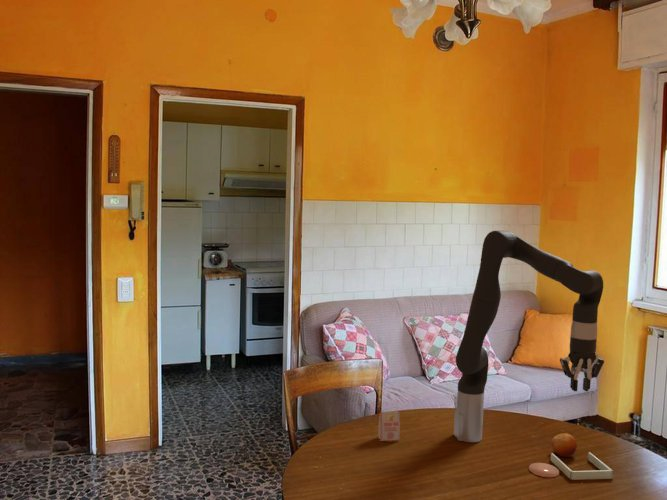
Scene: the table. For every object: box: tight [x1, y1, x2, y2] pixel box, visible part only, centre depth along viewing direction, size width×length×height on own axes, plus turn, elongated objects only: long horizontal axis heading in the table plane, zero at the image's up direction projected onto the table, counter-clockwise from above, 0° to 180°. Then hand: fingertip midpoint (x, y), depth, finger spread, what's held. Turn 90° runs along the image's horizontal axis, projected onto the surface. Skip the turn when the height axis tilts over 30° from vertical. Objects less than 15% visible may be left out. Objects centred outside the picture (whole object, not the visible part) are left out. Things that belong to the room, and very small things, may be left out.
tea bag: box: [377, 410, 401, 442], centre depth 216 cm, size 4×7×10 cm, turn 98°
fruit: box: [550, 432, 578, 458], centre depth 208 cm, size 8×8×8 cm
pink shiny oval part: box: [528, 462, 560, 478], centre depth 195 cm, size 9×9×1 cm
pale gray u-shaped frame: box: [550, 451, 614, 481], centre depth 197 cm, size 14×14×2 cm
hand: (579, 390), depth 190 cm, fingers open, 3 cm apart
